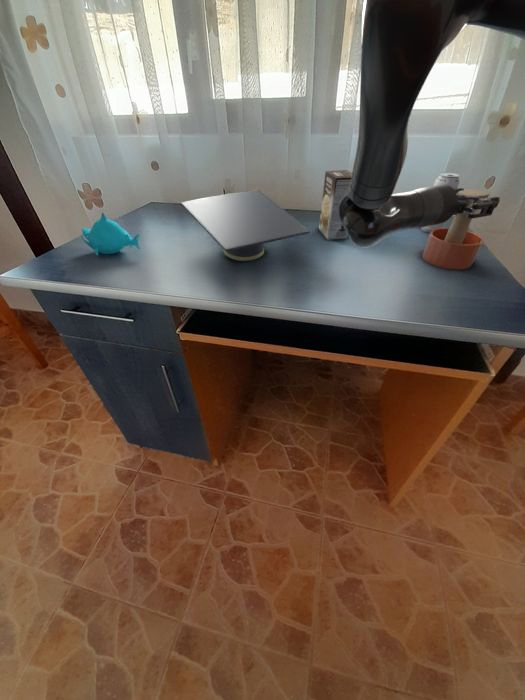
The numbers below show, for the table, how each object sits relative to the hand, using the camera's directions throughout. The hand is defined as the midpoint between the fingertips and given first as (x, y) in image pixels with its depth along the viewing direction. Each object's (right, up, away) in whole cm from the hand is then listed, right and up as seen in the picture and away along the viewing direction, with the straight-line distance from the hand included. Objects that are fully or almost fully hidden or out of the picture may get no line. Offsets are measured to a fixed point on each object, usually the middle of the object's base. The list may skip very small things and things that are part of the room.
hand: (477, 197), depth 67 cm
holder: (-2, -11, +9) cm, 14 cm away
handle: (-2, -11, +9) cm, 14 cm away
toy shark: (-88, -8, +14) cm, 89 cm away
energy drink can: (+3, +2, +25) cm, 25 cm away
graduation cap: (-53, -8, +13) cm, 56 cm away
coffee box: (-27, +1, +23) cm, 36 cm away
